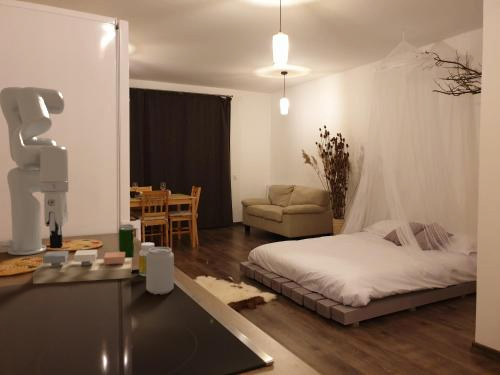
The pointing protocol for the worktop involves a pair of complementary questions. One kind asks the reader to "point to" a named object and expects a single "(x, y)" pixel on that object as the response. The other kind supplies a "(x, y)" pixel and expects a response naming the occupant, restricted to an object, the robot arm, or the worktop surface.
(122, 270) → the button board
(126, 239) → the beer can
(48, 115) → the robot arm
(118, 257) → the terracotta tile
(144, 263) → the supplement bottle
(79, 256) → the cream tile
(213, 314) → the worktop surface
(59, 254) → the slate tile
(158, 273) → the can
